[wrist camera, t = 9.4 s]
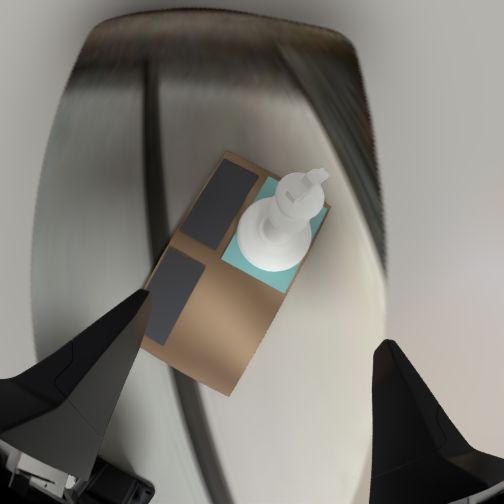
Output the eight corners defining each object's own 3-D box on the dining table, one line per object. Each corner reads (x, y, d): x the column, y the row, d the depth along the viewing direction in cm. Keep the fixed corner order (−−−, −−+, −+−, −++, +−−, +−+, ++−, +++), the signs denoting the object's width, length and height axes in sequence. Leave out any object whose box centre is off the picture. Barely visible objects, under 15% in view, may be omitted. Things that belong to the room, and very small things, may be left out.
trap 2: (163, 345, 18) (162, 346, 18) (129, 323, 18) (128, 324, 18) (205, 267, 19) (205, 267, 19) (170, 247, 19) (169, 246, 19)
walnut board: (229, 393, 18) (228, 396, 18) (124, 333, 18) (121, 334, 18) (328, 208, 20) (331, 206, 20) (226, 154, 21) (226, 150, 20)
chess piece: (221, 226, 19) (209, 159, 9) (279, 185, 20) (317, 97, 10) (267, 286, 19) (303, 281, 9) (324, 242, 19) (402, 196, 9)
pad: (284, 293, 19) (284, 293, 19) (221, 259, 19) (220, 258, 19) (326, 209, 20) (327, 208, 20) (268, 177, 20) (268, 176, 20)
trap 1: (215, 250, 19) (215, 250, 19) (179, 230, 19) (179, 230, 19) (258, 176, 20) (258, 175, 20) (224, 159, 20) (224, 158, 20)
